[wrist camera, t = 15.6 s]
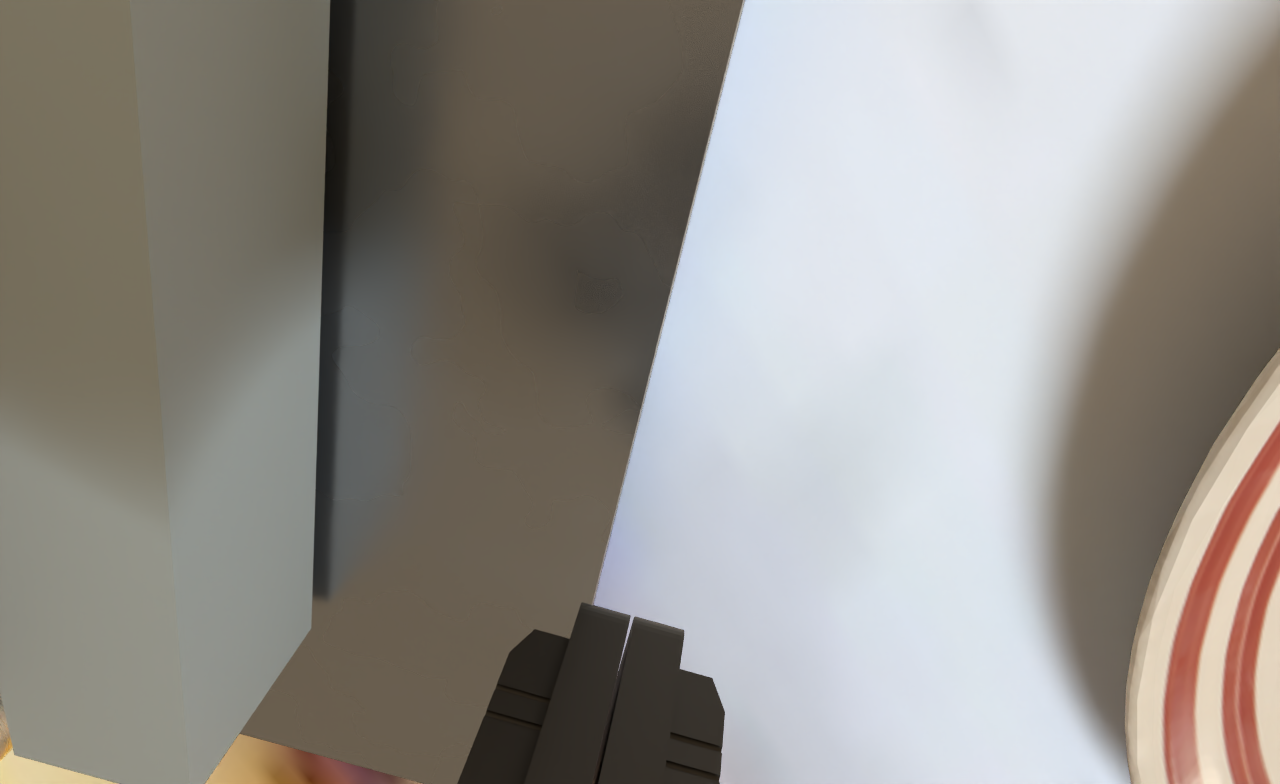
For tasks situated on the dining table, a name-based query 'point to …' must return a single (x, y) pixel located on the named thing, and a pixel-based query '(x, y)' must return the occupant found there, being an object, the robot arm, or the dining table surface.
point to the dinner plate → (1215, 617)
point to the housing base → (482, 343)
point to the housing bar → (156, 371)
